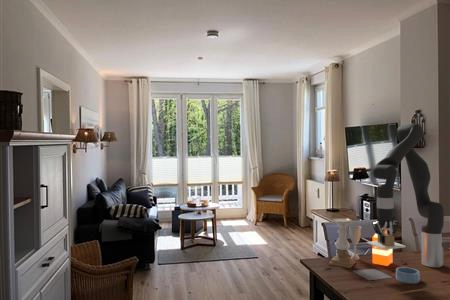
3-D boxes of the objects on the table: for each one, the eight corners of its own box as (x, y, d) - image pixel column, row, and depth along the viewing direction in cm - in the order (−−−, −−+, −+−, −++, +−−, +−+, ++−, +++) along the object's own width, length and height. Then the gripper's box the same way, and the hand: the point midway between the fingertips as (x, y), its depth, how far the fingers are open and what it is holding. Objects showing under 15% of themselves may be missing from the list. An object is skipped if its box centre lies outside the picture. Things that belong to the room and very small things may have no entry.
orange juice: (372, 264, 193) (372, 226, 193) (377, 260, 200) (377, 223, 199) (387, 267, 188) (387, 228, 188) (392, 263, 194) (392, 225, 194)
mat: (374, 269, 185) (374, 268, 185) (392, 278, 172) (392, 277, 172) (351, 272, 181) (351, 271, 181) (369, 282, 168) (368, 280, 168)
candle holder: (350, 269, 185) (350, 222, 185) (328, 266, 191) (328, 220, 191) (355, 263, 194) (355, 219, 194) (335, 260, 200) (335, 217, 200)
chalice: (360, 262, 197) (360, 228, 197) (347, 260, 200) (347, 227, 200) (362, 258, 203) (362, 226, 203) (350, 256, 207) (350, 224, 206)
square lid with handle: (387, 240, 181) (387, 230, 181) (405, 247, 169) (405, 236, 169) (366, 243, 178) (366, 232, 178) (383, 249, 166) (383, 238, 166)
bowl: (408, 276, 175) (408, 266, 175) (424, 283, 166) (424, 272, 166) (391, 278, 172) (391, 268, 172) (406, 286, 163) (406, 275, 163)
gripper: (392, 204, 179) (392, 239, 179) (367, 206, 175) (368, 242, 175) (403, 207, 172) (404, 243, 172) (377, 209, 168) (378, 246, 168)
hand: (385, 242), depth 174 cm, fingers closed on square lid with handle, 3 cm apart
